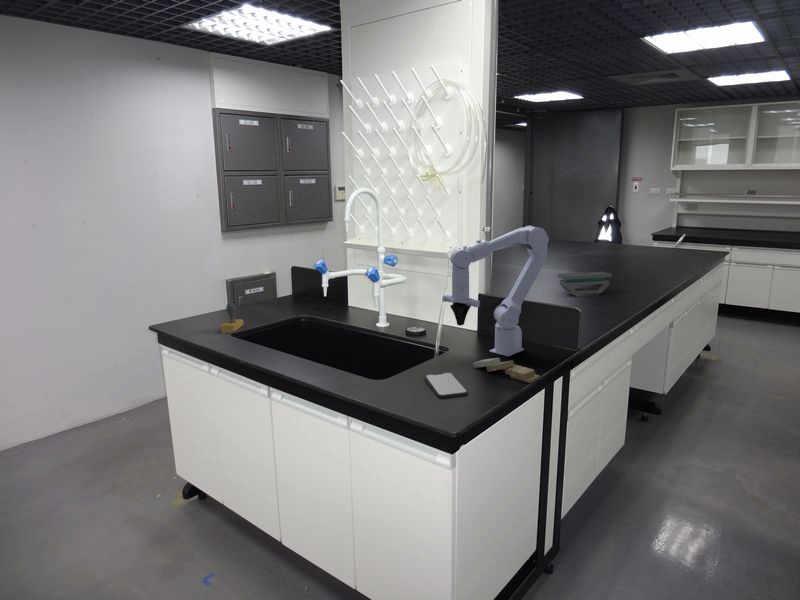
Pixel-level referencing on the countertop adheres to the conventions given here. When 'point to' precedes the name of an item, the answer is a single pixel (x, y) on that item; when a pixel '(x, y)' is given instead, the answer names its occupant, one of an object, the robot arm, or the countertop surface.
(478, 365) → the domino sage
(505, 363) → the maple domino
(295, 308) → the countertop surface
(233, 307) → the rubber stamp
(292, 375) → the countertop surface
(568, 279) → the sharpening stone
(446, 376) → the phone case
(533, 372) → the maple domino
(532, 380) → the maple domino
